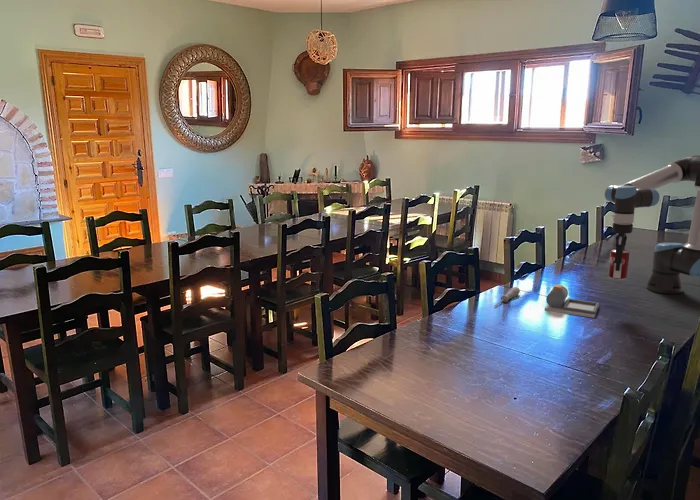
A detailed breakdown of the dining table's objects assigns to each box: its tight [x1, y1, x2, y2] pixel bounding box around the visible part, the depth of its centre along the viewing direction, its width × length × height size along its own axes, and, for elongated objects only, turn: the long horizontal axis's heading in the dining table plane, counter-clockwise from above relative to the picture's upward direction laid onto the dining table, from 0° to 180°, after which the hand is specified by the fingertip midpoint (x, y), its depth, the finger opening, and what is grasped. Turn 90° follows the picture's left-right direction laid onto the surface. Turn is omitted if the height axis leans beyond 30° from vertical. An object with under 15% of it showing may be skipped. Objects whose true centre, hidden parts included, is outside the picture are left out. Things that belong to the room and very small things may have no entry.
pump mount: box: [544, 283, 600, 319], centre depth 229 cm, size 20×16×9 cm
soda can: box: [607, 248, 630, 281], centre depth 222 cm, size 7×7×12 cm
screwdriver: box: [494, 286, 521, 307], centre depth 241 cm, size 5×25×4 cm, turn 139°
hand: (617, 275), depth 223 cm, fingers closed on soda can, 7 cm apart
